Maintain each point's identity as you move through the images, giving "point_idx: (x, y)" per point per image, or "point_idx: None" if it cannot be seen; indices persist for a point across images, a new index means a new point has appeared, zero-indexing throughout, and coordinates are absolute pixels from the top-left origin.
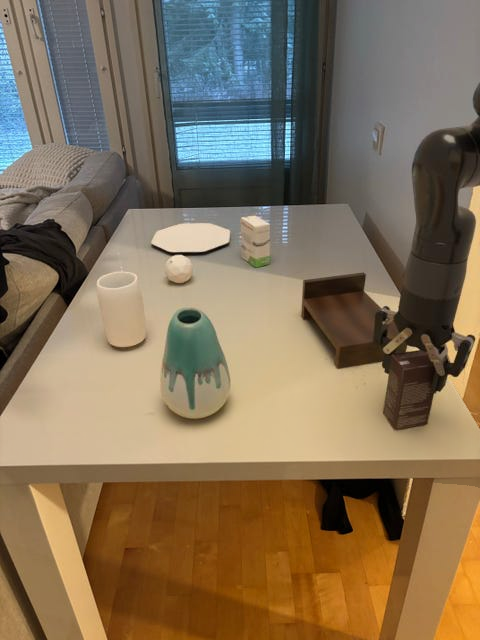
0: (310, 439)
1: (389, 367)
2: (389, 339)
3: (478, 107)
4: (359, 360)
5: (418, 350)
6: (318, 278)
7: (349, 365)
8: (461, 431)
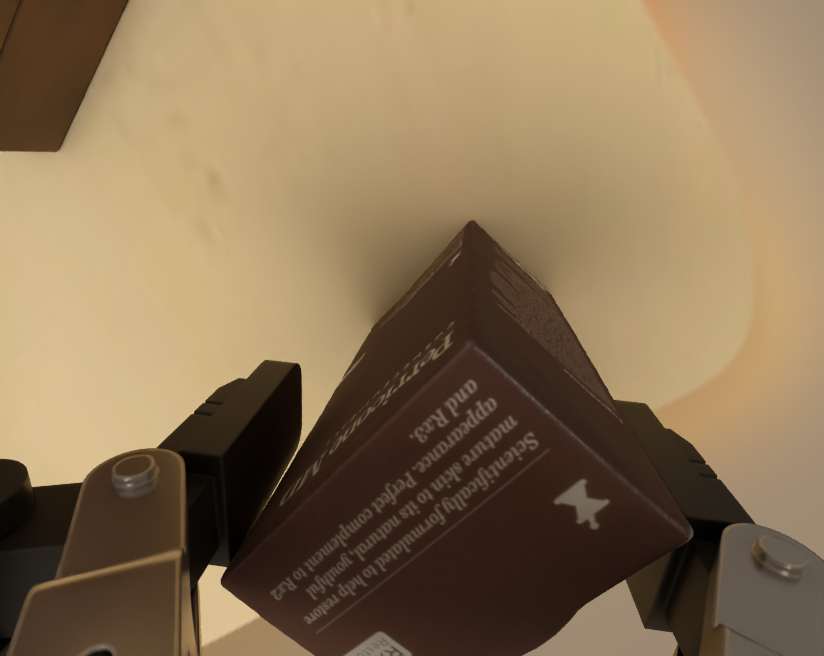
0: None
1: (279, 478)
2: (52, 552)
3: None
4: (80, 40)
5: (404, 423)
6: None
7: (75, 95)
8: (695, 250)
